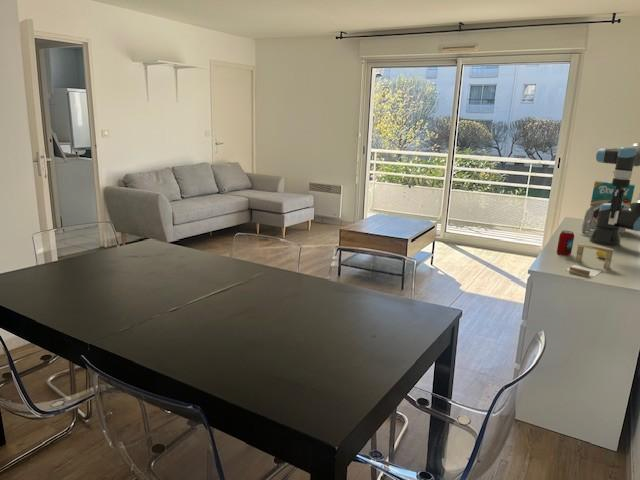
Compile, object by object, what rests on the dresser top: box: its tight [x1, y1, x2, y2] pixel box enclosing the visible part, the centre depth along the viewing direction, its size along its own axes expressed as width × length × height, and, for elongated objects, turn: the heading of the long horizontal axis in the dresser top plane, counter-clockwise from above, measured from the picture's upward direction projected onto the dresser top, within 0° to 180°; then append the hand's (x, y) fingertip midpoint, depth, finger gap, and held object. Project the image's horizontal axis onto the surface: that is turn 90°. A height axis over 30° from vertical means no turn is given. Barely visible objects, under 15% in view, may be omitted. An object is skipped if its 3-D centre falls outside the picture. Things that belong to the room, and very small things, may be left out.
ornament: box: [580, 205, 595, 237], centre depth 297 cm, size 22×13×17 cm, turn 136°
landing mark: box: [565, 264, 602, 278], centre depth 224 cm, size 12×12×1 cm
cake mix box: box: [589, 180, 636, 234], centre depth 311 cm, size 22×6×30 cm, turn 58°
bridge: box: [574, 242, 614, 270], centre depth 233 cm, size 3×14×9 cm, turn 48°
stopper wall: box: [568, 266, 590, 278], centre depth 218 cm, size 2×8×2 cm, turn 48°
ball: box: [595, 250, 607, 259], centre depth 246 cm, size 6×6×6 cm
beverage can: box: [556, 230, 575, 257], centre depth 249 cm, size 7×7×12 cm
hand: (612, 223), depth 250 cm, fingers open, 4 cm apart
